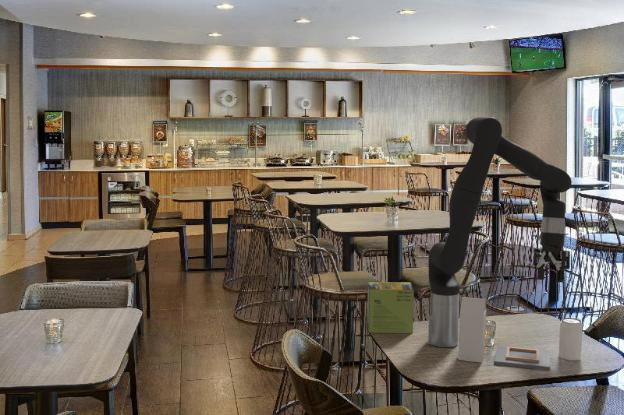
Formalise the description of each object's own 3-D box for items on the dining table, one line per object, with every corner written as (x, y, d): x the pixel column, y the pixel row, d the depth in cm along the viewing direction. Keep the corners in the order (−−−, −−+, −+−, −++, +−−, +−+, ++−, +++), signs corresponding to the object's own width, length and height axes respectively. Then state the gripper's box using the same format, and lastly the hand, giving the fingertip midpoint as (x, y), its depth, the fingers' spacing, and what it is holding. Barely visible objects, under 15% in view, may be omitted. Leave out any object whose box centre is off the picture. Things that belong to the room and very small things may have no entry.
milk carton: (481, 363, 210) (484, 302, 207) (458, 360, 212) (460, 300, 210) (484, 355, 217) (486, 296, 214) (461, 352, 219) (463, 294, 216)
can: (570, 362, 210) (572, 324, 209) (553, 356, 216) (555, 318, 215) (585, 359, 213) (587, 321, 212) (568, 352, 219) (570, 316, 217)
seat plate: (494, 364, 209) (494, 358, 209) (497, 348, 223) (497, 342, 223) (550, 370, 204) (550, 364, 204) (549, 353, 218) (549, 348, 218)
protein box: (413, 333, 238) (414, 289, 236) (368, 333, 238) (369, 289, 236) (409, 324, 249) (410, 281, 246) (366, 323, 249) (367, 281, 247)
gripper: (528, 230, 234) (526, 278, 234) (559, 232, 221) (557, 282, 221) (546, 231, 237) (543, 279, 237) (577, 233, 224) (574, 283, 224)
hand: (550, 280), depth 229 cm, fingers open, 8 cm apart
